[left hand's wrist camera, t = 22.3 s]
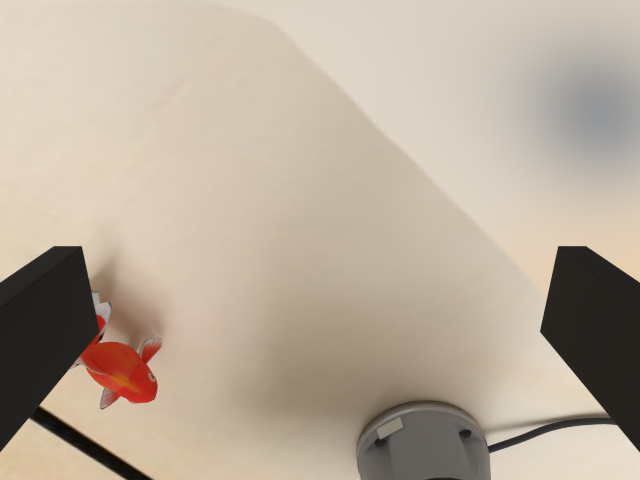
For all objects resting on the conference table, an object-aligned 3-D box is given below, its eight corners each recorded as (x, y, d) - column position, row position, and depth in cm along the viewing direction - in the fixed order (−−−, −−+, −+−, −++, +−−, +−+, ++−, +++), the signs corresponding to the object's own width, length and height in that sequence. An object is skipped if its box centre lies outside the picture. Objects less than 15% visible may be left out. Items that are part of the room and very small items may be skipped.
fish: (103, 440, 46) (46, 471, 36) (30, 317, 49) (-43, 315, 39) (190, 377, 48) (157, 391, 38) (114, 260, 50) (65, 245, 40)
